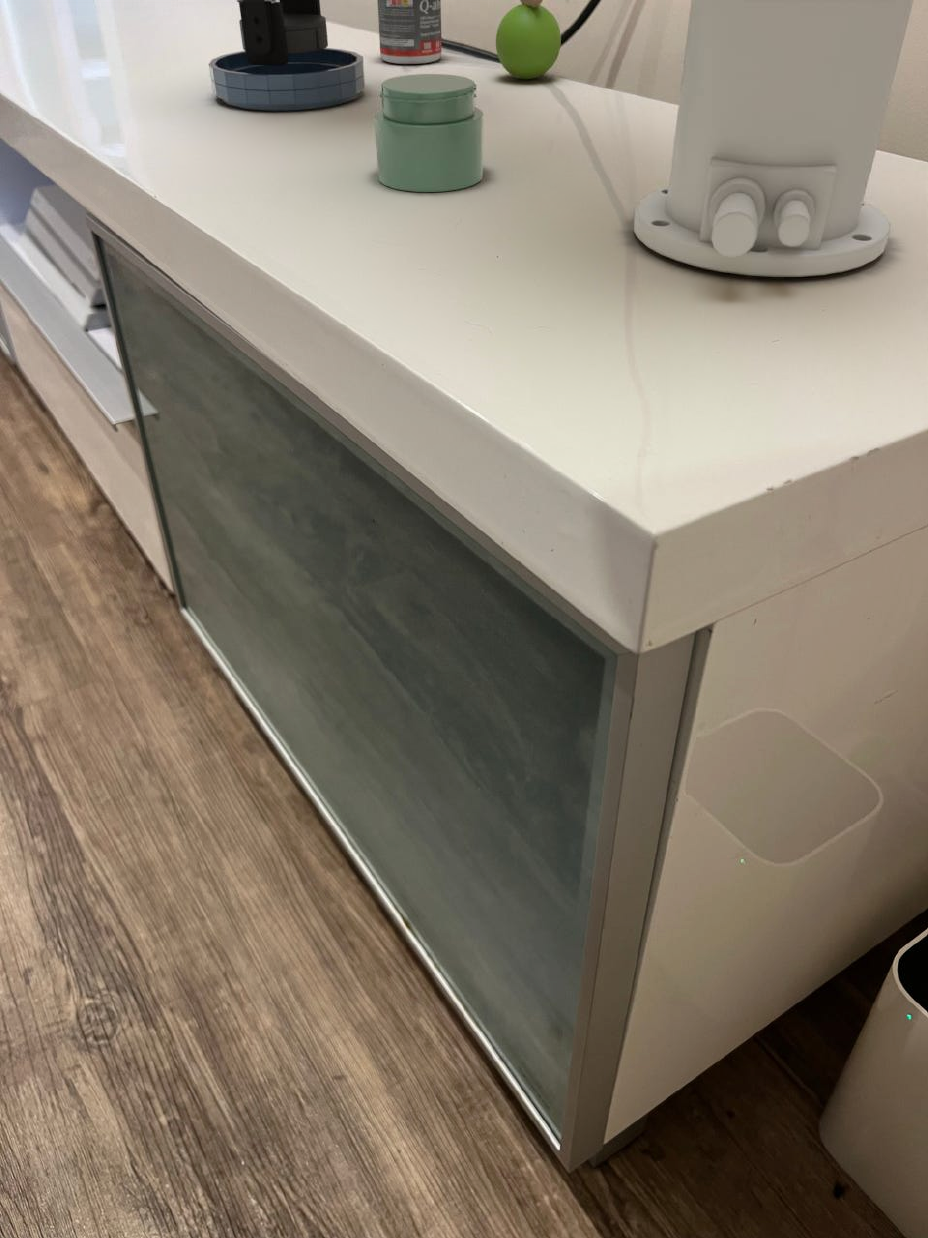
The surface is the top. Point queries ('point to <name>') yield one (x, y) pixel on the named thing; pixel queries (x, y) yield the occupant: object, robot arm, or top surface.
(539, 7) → the green apple
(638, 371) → the top surface
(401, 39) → the pill bottle
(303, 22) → the lid
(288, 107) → the dish
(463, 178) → the jar
